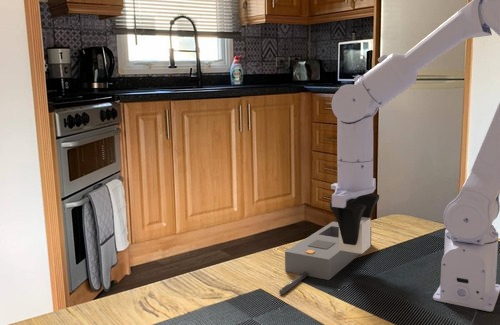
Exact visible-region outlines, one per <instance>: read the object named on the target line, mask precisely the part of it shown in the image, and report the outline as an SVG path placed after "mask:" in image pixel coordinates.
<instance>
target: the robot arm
mask: <svg viewBox="0 0 500 325" xmlns="http://www.w3.org/2000/svg"><path fill="white" fill-rule="evenodd" d="M491 30H493V32H494V33H495V34H497V36H499V37H500V0H471V1H470V2H468V3H467V4H466V5H465V6H463V7H462V8H460V9H459V10H458V11H456V12H455V13H454V14H453V15H452V16H451V17H449V18H448V19H447V20H446V21H444V22H443V23H442V24H440V25H439V26H438V27H437V28H436V29H434V30H433V31H432V32H431V33H430V34H428V35H427V36H425V38H423V39H422V40H420V42H418V43H417V44H416V45H414V46H413V47H412V48H411V49H410V50H408V51H407V52H406V53H398V52H393V53H391V54H389V55H388V54H382V55H381V56H380V57H378V58H377V61H378V63H377V64H376V65H374V66H373V67H372V68H371V69H369V70H368V71H367V72H365V73H364V74H363V75H359V74H357V75H356V76H355V77H354V78H353V81H354V84H344V85H341V86H340V87H339V88H338V90H337V91H336V92H335V93H334V95H333V96H332V99H331V110H332V112H333V115H334V116H335V117H336V118H337V119H336V120H337V123H336V124H337V126H336V127H337V129H336V130H337V132H336V133H337V134H336V136H337V137H336V138H337V143H336V144H337V145H336V146H337V150H336V151H337V154H336V156H337V157H336V158H337V160H336V161H337V166H336V167H337V168H336V169H337V182H334V183H332V184H331V185H330V189H331V190H334V193H332V194H331V201H329V208H330V210H331V212H332V213H333V215H334V217H335V219H336V222H338V225H339V228H340V232H341V237H342V240H343V243H344V244H349V245H356V244H357V240H358V235H359V227H360V222H361V218H362V217H366V218H370V220H371V219H372V215H373V212H374V210H375V208H376V205H377V203H378V201H379V200H380V194H378V193H374V192H375V190H376V188H377V186H376V184H377V182H376V178H374V116H375V115H376V114H377V113H378V111H379V108H382V107H383V106H386V104H388V103H389V102H391V101H392V100H393V99H395V98H396V97H398V96H400V95H401V94H402V93H404V92H405V91H407V90H408V89H410V88H411V87H412V86H414V85H415V84H416V82H417V79H418V78H417V77H418V74H419V71H420V70H422V69H423V68H425V67H426V66H429V64H431V63H432V62H434V61H435V60H437V59H439V58H440V57H441V56H444V54H446V53H448V52H450V50H453V49H454V48H455V47H457V46H458V45H460V44H462V42H465V41H467V40H468V39H474V38H481V37H488V36H489V37H490V36H492V35H493V34H492V31H491ZM499 214H500V102H499V103H498V105H497V108H496V109H495V112H494V115H493V117H492V120H491V122H490V124H489V127H488V129H487V131H486V133H485V136H484V139H483V141H482V143H481V145H480V148H479V151H478V152H477V155H476V157H475V160H474V162H473V165H472V167H471V170H470V172H469V173H468V175H467V177H466V179H465V181H464V183H463V184H462V187H461V188H460V192H459V193H458V194H457V196H456V197H455V198H454V199H453V200H452V201H450V202H449V203H448V204H447V205H446V207H445V208H444V211H443V214H442V221H443V224H444V228H445V230H444V248H443V249H444V251H443V256H442V258H441V262H440V264H441V265H440V284H439V287H437V290H436V291H435V292H434V294H433V295H432V300H434V301H437V302H442V303H447V304H452V305H455V306H461V307H465V308H470V309H475V310H481V311H486V312H493V311H494V309H495V306H496V303H497V300H498V297H499V295H500V284H498V283H497V269H498V268H497V267H498V248H499V232H498V231H497V230H496V229H497V228H495V227H494V225H492V224H493V222H494V221H495V220H496V219H497V217H498V216H499Z"/></svg>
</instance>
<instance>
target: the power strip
mask: <svg viewBox="0 0 500 325" xmlns="http://www.w3.org/2000/svg"><path fill="white" fill-rule="evenodd" d="M371 245H372V226H370V246H371ZM358 256H360V254H359V253H353V252H347V251H341V250H339V225H338V222H337V221H331V222H330V223H328V224H326V225H325V226H324V227H321V228H320V229H319V230H317V231H316V232H314V233H311V235H309V236H308V237H306V238H304V239H303V240H300V242H298V243H296V244H295V245H293V246H292V247H290V248H289V249H287V250H285V251H284V266H285V268H284V270H285V272H286V273H287V272H288V273H292V274H293V273H294V274H297V275H298V276H297V277H295V278H294V279H293V280H291V281H290V282H288V283H287V284H285V285H284V286H283V287H282V288H281V289H279V291H278V293H279V295H284V294H286V293H287V292H288V291H289V290H291V289H292V288H293V287H294V286H296V285H297V284H299V283H300V282H301V281H303V280H304V279H305V278H307V277H311V278H317V279H322V280H326V281H330V279H332V278H334V277H335V276H336V275H337V274H338V273H339V272H340V271H341V270H343V269H345V267H347V265H349V264H350V263H351V262H352V261H353V260H355V259H356V258H357V257H358Z"/></svg>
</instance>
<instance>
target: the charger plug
mask: <svg viewBox="0 0 500 325" xmlns="http://www.w3.org/2000/svg"><path fill="white" fill-rule="evenodd" d="M370 227H371V219H370V218H366V217H362V218H361V222H360V227H359V235H358V240H357V244H356V245H349V244H344V243H343V240H342V237H341V232H340V228H339V250H341V251H347V252H353V253H359V255H363V254H364V253H365V252H366V251H367V250H368V249H370V248H371V245H370Z"/></svg>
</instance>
